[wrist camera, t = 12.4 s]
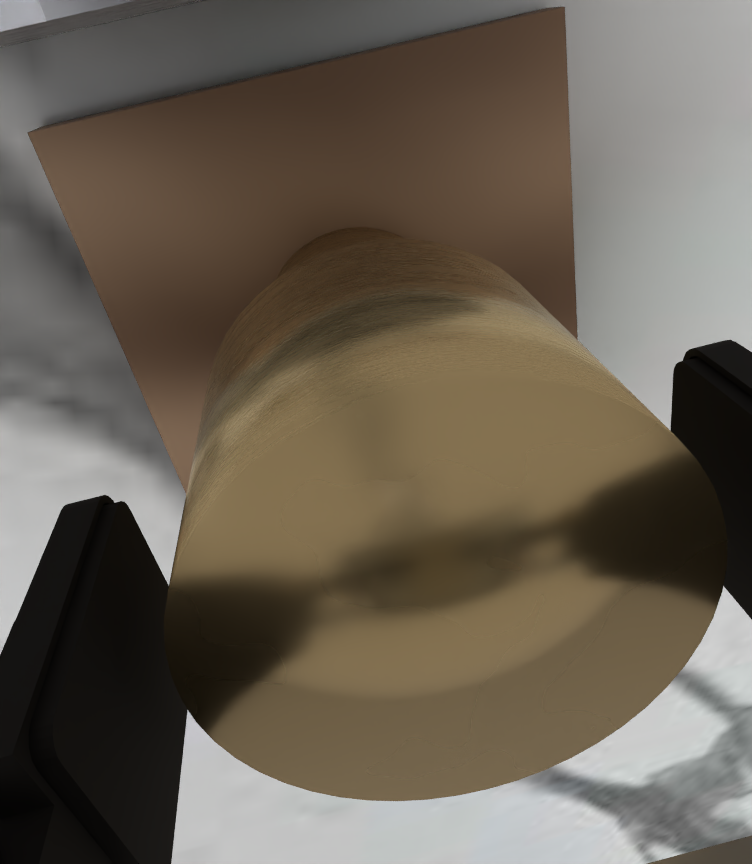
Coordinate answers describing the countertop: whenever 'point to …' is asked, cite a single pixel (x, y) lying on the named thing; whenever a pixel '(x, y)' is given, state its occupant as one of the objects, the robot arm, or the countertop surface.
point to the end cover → (427, 532)
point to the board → (315, 187)
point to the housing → (68, 15)
